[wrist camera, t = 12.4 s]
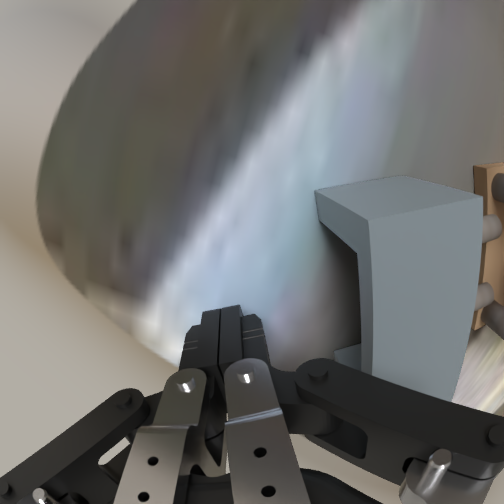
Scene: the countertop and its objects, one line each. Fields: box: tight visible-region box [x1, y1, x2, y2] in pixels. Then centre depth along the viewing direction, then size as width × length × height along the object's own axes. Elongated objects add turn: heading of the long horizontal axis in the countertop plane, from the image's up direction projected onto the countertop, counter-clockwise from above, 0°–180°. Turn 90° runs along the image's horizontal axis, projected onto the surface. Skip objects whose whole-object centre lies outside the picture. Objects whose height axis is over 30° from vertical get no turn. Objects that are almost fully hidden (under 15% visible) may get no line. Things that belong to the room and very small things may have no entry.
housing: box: [315, 175, 483, 402], centre depth 11 cm, size 4×9×5 cm, turn 12°
